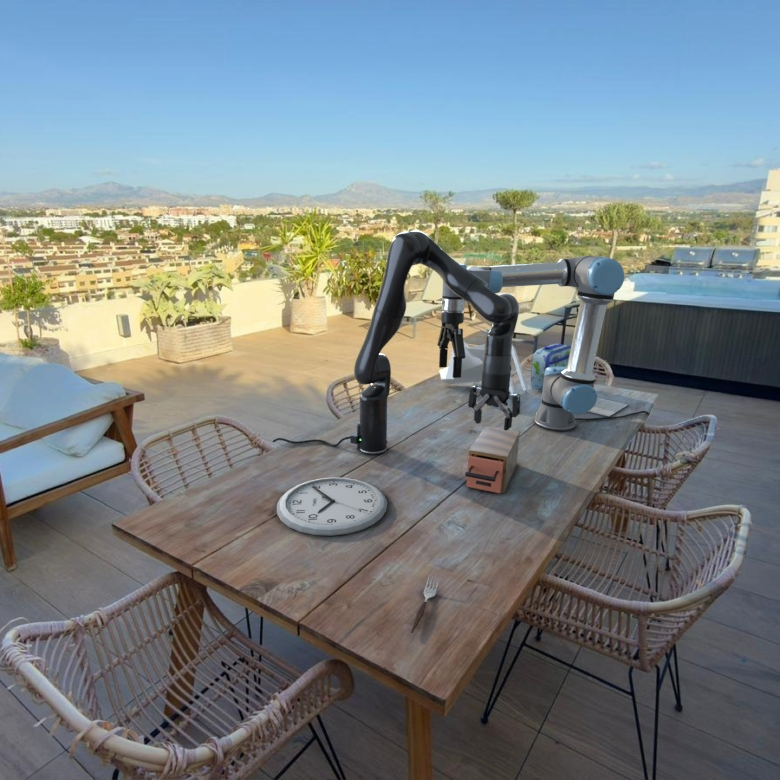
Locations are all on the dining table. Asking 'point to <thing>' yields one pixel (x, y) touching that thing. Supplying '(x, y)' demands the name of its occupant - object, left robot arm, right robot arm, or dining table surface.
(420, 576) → the dining table surface
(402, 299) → the left robot arm
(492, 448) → the cabinet
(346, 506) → the wall clock
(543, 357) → the lunch box
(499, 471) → the drawer
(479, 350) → the white plastic object
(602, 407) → the invitation card
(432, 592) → the fork
